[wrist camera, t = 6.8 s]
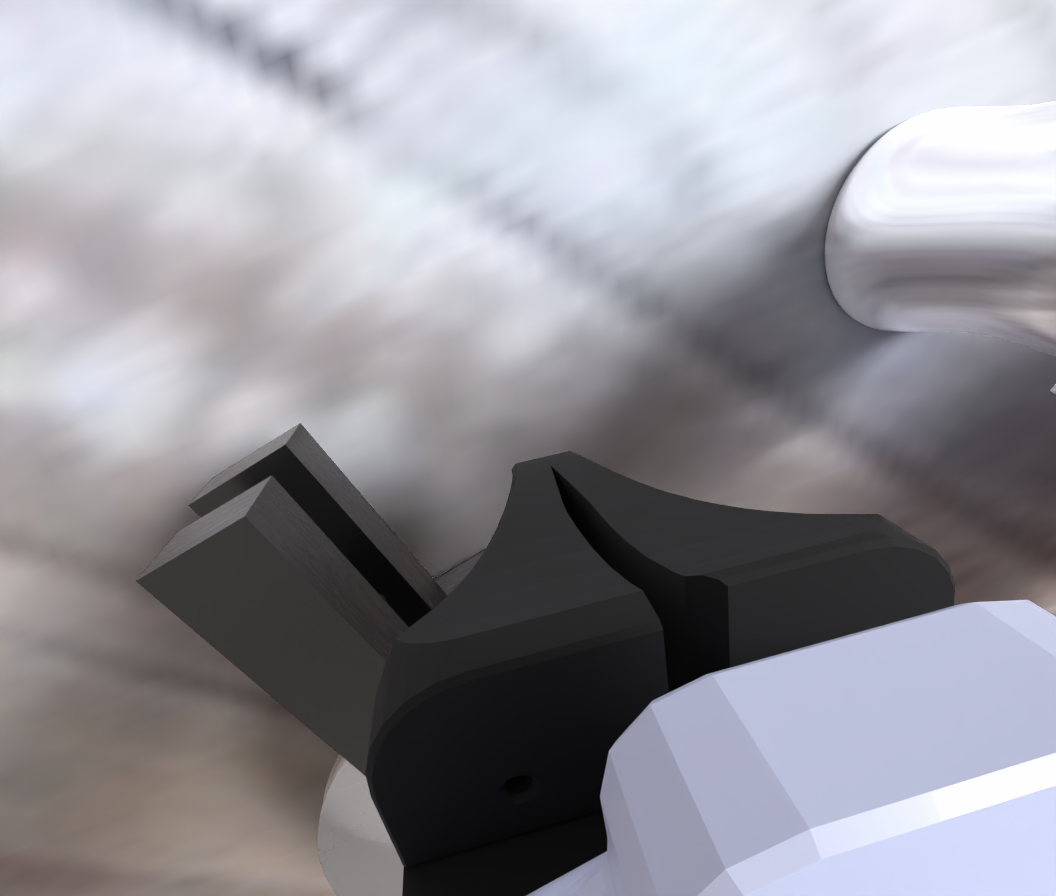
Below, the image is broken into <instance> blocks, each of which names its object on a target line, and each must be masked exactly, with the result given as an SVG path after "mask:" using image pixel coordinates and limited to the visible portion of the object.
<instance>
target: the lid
mask: <svg viewBox="0 0 1056 896" xmlns="http://www.w3.org/2000/svg"><path fill="white" fill-rule="evenodd" d="M136 581H137V582H138V583H139V584H140V585H141V586H142V587H144V588H145V589H146V590H147V591H148V592H149V593H151V594H152V595H153V596H154V597H155V598H157V599H158V600H159V601H160V602H161V603H162V604H164V605H165V606H166V607H167V608H168V609H169V610H171V611H172V612H173V613H174V614H175V615H176V616H178V617H179V618H180V619H181V620H182V621H184V622H185V623H186V624H187V625H188V626H189V627H191V628H192V629H193V630H194V631H195V632H196V633H198V634H199V635H200V636H201V637H202V638H204V639H205V640H206V641H207V642H208V643H209V644H211V645H212V646H213V647H214V648H215V649H216V650H218V651H219V652H220V653H221V654H222V655H223V656H225V657H226V658H227V659H228V660H229V661H231V662H232V663H233V664H234V665H235V666H236V667H238V668H239V669H240V670H241V671H242V672H243V673H245V674H246V675H247V676H248V677H249V678H251V679H252V680H253V681H254V682H255V683H256V684H258V685H259V686H260V687H261V688H262V689H263V690H265V691H266V692H267V693H268V694H269V695H270V696H272V697H273V698H274V699H275V700H276V701H278V702H279V703H280V704H281V705H282V706H283V707H285V708H286V709H287V710H288V711H289V712H290V713H292V714H293V715H294V716H295V717H296V718H298V719H299V720H300V721H301V722H302V723H303V724H305V725H306V726H307V727H308V728H309V729H310V730H312V731H313V732H314V733H315V734H316V735H317V736H319V737H320V738H321V739H322V740H323V741H325V742H326V743H327V744H328V745H329V746H330V747H332V748H333V749H334V750H335V751H336V752H337V753H339V756H338V758H337V760H336V762H335V764H334V766H333V768H332V770H331V772H330V776H329V779H328V782H327V785H326V789H325V793H324V798H323V803H322V808H321V813H320V818H319V827H318V836H317V843H318V853H319V860H320V863H321V866H322V869H323V872H324V874H325V877H326V878H327V880H328V882H329V883H330V885H331V887H332V888H333V890H334V892H335V893H336V894H337V895H338V896H402V890H403V869H404V866H403V864H402V862H401V860H400V858H399V856H398V854H397V852H396V849H395V847H394V845H393V843H392V841H391V839H390V837H389V834H388V832H387V830H386V828H385V826H384V824H383V822H382V820H381V817H380V815H379V813H378V811H377V809H376V807H375V805H374V802H373V800H372V798H371V795H370V791H369V787H368V783H367V779H366V775H365V773H366V764H367V755H368V746H369V737H370V729H371V720H372V713H373V708H374V703H375V698H376V694H377V690H378V687H379V683H380V680H381V676H382V672H383V669H384V666H385V662H386V659H387V656H388V653H389V650H390V647H391V644H392V641H393V640H394V639H395V638H396V637H397V636H399V635H400V634H402V633H403V632H404V631H406V630H407V629H408V628H409V627H408V626H407V625H406V624H405V622H404V621H403V620H402V619H401V618H400V617H399V616H398V615H397V614H396V613H395V611H394V610H393V609H392V608H391V607H390V606H389V605H388V604H387V603H386V601H385V600H384V599H383V598H382V597H381V596H380V595H379V594H378V593H377V591H376V590H375V589H374V588H373V587H372V586H371V585H370V584H369V583H368V581H367V580H366V579H365V578H364V577H363V576H362V575H361V574H360V573H359V571H358V570H357V569H356V568H355V567H354V566H353V565H352V564H351V563H350V561H349V560H348V559H347V558H346V557H345V556H344V555H343V554H342V553H341V552H340V550H339V549H338V548H337V547H336V546H335V545H334V544H333V543H332V542H331V540H330V539H329V538H328V537H327V536H326V535H325V534H324V533H323V532H322V530H321V529H320V528H319V527H318V526H317V525H316V524H315V523H314V522H313V520H312V519H311V518H310V517H309V516H308V515H307V514H306V513H305V512H304V510H303V509H302V508H301V507H300V506H299V505H298V504H297V503H296V502H295V500H294V499H293V498H292V497H291V496H290V495H289V494H288V493H287V492H286V491H285V489H284V488H283V487H282V486H281V485H280V484H279V483H278V482H277V481H276V479H275V478H274V477H273V476H270V477H268V478H267V479H265V480H263V481H262V482H260V483H258V484H257V485H255V486H253V487H252V488H250V489H248V490H247V491H245V492H243V493H242V494H240V495H238V496H237V497H235V498H233V499H232V500H230V501H228V502H226V503H225V504H223V505H221V506H220V507H218V508H216V509H215V510H213V511H211V512H210V513H208V514H206V515H205V516H203V517H201V518H200V519H198V520H196V521H195V522H193V523H191V524H190V525H188V526H186V527H185V528H183V529H181V530H180V531H178V532H177V533H176V535H175V536H174V537H173V538H172V539H171V540H170V542H169V543H168V544H167V545H166V546H165V548H164V549H163V550H162V551H161V552H160V553H159V555H158V556H157V557H156V558H155V559H154V560H153V562H152V563H151V564H150V565H149V566H148V567H147V569H146V570H145V571H144V572H143V573H142V574H141V576H140V577H139V578H138V579H137V580H136Z"/></svg>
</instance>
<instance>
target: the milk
mask: <svg viewBox="0 0 1056 896" xmlns="http://www.w3.org/2000/svg"><path fill="white" fill-rule="evenodd" d="M1050 391H1051V392H1053V393H1054V394H1056V384H1055V385H1054V386H1053V387H1052V389H1051V390H1050Z"/></svg>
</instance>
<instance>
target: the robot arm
mask: <svg viewBox="0 0 1056 896" xmlns="http://www.w3.org/2000/svg"><path fill="white" fill-rule="evenodd" d="M512 473H513V479H512V485H511V490H510V494H509V497H508V501H507V504H506V507H505V510H504V512H503V515H502V517H501V520H500V522H499V524H498V527H497V529H496V531H495V533H494V535H493V537H492V539H491V541H490V543H489V544H488V546H487V548H486V549H485V551H484V553H483V554H482V556H481V557H480V559H479V560H478V561H477V563H476V564H475V566H474V567H473V568H472V570H471V571H470V572H469V573H468V575H467V576H466V577H465V578H464V579H463V580H462V582H461V583H460V584H459V585H458V586H457V587H456V588H455V589H454V590H453V591H452V592H451V593H450V594H449V595H448V596H447V597H446V598H445V599H444V600H443V601H442V602H440V603H439V604H438V605H437V606H436V607H435V608H434V609H432V610H431V611H430V612H429V613H428V614H426V615H425V616H424V617H422V618H421V619H420V620H419V621H417V622H416V623H415V624H413V625H412V626H411V627H410V628H408V629H407V630H406V631H404V632H403V633H402V634H400V635H399V636H397V637H396V638H395V639H394V640H393V641H392V644H391V647H390V650H389V653H388V656H387V659H386V662H385V666H384V669H383V672H382V676H381V680H380V683H379V687H378V690H377V694H376V698H375V703H374V708H373V713H372V720H371V729H370V737H369V746H368V755H367V764H366V773H365V775H366V779H367V783H368V787H369V791H370V795H371V798H372V800H373V802H374V805H375V807H376V809H377V811H378V813H379V815H380V817H381V820H382V822H383V824H384V826H385V828H386V830H387V832H388V834H389V837H390V839H391V841H392V843H393V845H394V847H395V849H396V852H397V854H398V856H399V858H400V860H401V862H402V864H403V866H404V869H403V890H402V896H1056V617H1055V616H1054V615H1052V614H1050V613H1049V612H1047V611H1046V610H1044V609H1042V608H1041V607H1039V606H1037V605H1036V604H1034V603H1032V602H1031V601H1029V600H1010V601H989V602H972V603H964V604H958V605H955V606H954V594H955V584H954V581H953V578H952V575H951V571H950V568H949V565H948V564H947V563H946V562H945V561H944V560H943V558H942V557H941V556H940V555H939V554H938V553H937V552H936V550H934V549H932V548H931V547H929V546H928V545H926V544H925V543H923V542H921V541H920V540H918V539H917V538H915V537H913V536H912V535H910V534H909V533H907V532H906V531H904V530H902V529H901V528H899V527H898V526H896V525H895V524H893V523H891V522H890V521H888V520H887V519H885V518H883V517H882V516H880V515H878V514H799V513H785V512H772V511H761V510H752V509H744V508H738V507H732V506H725V505H719V504H713V503H708V502H704V501H699V500H694V499H691V498H687V497H683V496H679V495H675V494H672V493H668V492H665V491H662V490H658V489H655V488H653V487H650V486H647V485H645V484H642V483H639V482H636V481H634V480H631V479H629V478H627V477H624V476H622V475H620V474H617V473H615V472H613V471H611V470H608V469H606V468H604V467H602V466H600V465H598V464H596V463H594V462H592V461H590V460H588V459H586V458H584V457H582V456H580V455H578V454H576V453H573V452H571V451H568V452H564V453H560V454H555V455H551V456H547V457H543V458H538V459H534V460H530V461H525V462H521V463H517V464H515V466H514V467H513V469H512Z"/></svg>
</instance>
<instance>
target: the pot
mask: <svg viewBox="0 0 1056 896" xmlns="http://www.w3.org/2000/svg"><path fill="white" fill-rule="evenodd" d="M270 476H273V477H274V478H275V479H276V481H277V482H278V483H279V484H280V485H281V486H282V487H283V488H284V489H285V491H286V492H287V493H288V494H289V495H290V496H291V497H292V498H293V499H294V500H295V502H296V503H297V504H298V505H299V506H300V507H301V508H302V509H303V510H304V512H305V513H306V514H307V515H308V516H309V517H310V518H311V519H312V520H313V522H314V523H315V524H316V525H317V526H318V527H319V528H320V529H321V530H322V532H323V533H324V534H325V535H326V536H327V537H328V538H329V539H330V540H331V542H332V543H333V544H334V545H335V546H336V547H337V548H338V549H339V550H340V552H341V553H342V554H343V555H344V556H345V557H346V558H347V559H348V560H349V561H350V563H351V564H352V565H353V566H354V567H355V568H356V569H357V570H358V571H359V573H360V574H361V575H362V576H363V577H364V578H365V579H366V580H367V581H368V583H369V584H370V585H371V586H372V587H373V588H374V589H375V590H376V591H377V593H378V594H379V595H380V596H381V597H382V598H383V599H384V600H385V601H386V603H387V604H388V605H389V606H390V607H391V608H392V609H393V610H394V611H395V613H396V614H397V615H398V616H399V617H400V618H401V619H402V620H403V621H404V622H405V624H406V625H407V626H408V627H409V628H410V627H411V626H412V625H413V624H415V623H416V622H417V621H419V620H420V619H421V618H422V617H424V616H425V615H426V614H428V613H429V612H430V611H431V610H432V609H434V608H435V607H436V606H437V605H438V604H439V603H440V602H442V601H443V600H444V599H445V598H446V597H447V596H448V595H449V594H450V593H451V592H452V591H453V590H454V589H455V588H456V587H457V586H458V585H459V584H460V583H461V582H462V580H463V579H464V578H465V577H466V576H467V575H468V573H469V572H470V571H471V570H472V568H473V567H474V566H475V564H476V563H477V561H478V560H479V559H480V557H481V556H482V554H483V553H484V551H485V550H484V551H482V552H480V553H479V554H477V555H475V556H474V557H472V558H470V559H469V560H467V561H465V562H464V563H462V564H460V565H459V566H457V567H455V568H454V569H452V570H450V571H449V572H447V573H445V574H444V575H442V576H440V577H438V578H437V579H435V580H434V579H433V578H432V577H431V576H430V574H429V573H428V572H427V571H426V570H425V569H424V567H423V566H422V565H421V564H420V563H419V562H418V560H417V559H416V558H415V557H414V556H413V555H412V553H411V552H410V551H409V550H408V549H407V547H406V546H405V545H404V544H403V543H402V542H401V540H400V539H399V538H398V537H397V536H396V535H395V533H394V532H393V531H392V530H391V529H390V528H389V526H388V525H387V524H386V523H385V522H384V521H383V519H382V518H381V517H380V516H379V515H378V513H377V512H376V511H375V510H374V509H373V508H372V506H371V505H370V504H369V503H368V502H367V501H366V499H365V498H364V497H363V496H362V495H361V494H360V492H359V491H358V490H357V489H356V488H355V487H354V485H353V484H352V483H351V482H350V481H349V480H348V478H347V477H346V476H345V475H344V474H343V472H342V471H341V470H340V469H339V468H338V467H337V465H336V464H335V463H334V462H333V461H332V460H331V458H330V457H329V456H328V455H327V454H326V453H325V451H324V450H323V449H322V448H321V447H320V446H319V444H318V443H317V442H316V441H315V440H314V438H313V437H312V436H311V435H310V434H309V433H308V431H307V430H306V429H305V428H304V427H303V426H302V424H301V423H300V424H298V425H296V426H295V427H293V428H292V429H290V430H288V431H287V432H285V433H284V434H282V435H281V436H279V437H277V438H276V439H274V440H273V441H271V442H269V443H268V444H266V445H265V446H263V447H261V448H260V449H258V450H257V451H255V452H253V453H252V454H250V455H249V456H247V457H245V458H244V459H242V460H241V461H239V462H237V463H236V464H234V465H233V466H231V467H229V468H228V469H226V470H225V471H223V472H221V473H220V474H218V475H217V476H215V477H213V478H212V479H211V480H210V482H209V483H208V484H207V485H206V486H205V487H204V488H203V489H202V490H201V492H200V493H199V494H198V495H197V496H196V497H195V498H194V499H193V500H192V502H191V503H190V504H189V506H190V507H191V508H192V509H193V510H194V511H195V512H196V513H197V514H198V515H199V516H200V517H203V516H205V515H206V514H208V513H210V512H211V511H213V510H215V509H216V508H218V507H220V506H221V505H223V504H225V503H226V502H228V501H230V500H232V499H233V498H235V497H237V496H238V495H240V494H242V493H243V492H245V491H247V490H248V489H250V488H252V487H253V486H255V485H257V484H258V483H260V482H262V481H263V480H265V479H267V478H268V477H270ZM338 756H339V753H338ZM337 758H338V757H337Z"/></svg>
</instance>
